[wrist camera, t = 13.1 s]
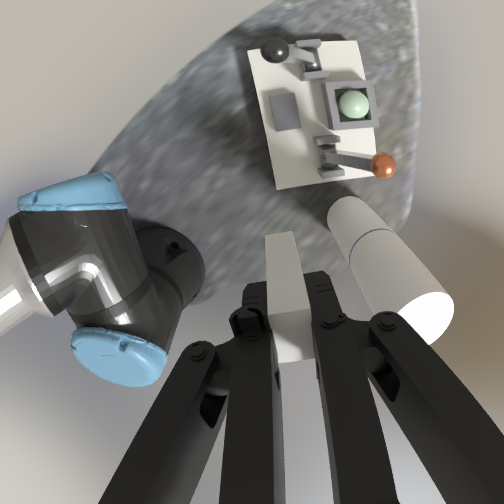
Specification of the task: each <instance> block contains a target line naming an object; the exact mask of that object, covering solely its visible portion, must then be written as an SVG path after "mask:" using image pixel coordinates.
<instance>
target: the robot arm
mask: <svg viewBox="0 0 504 504" xmlns="http://www.w3.org/2000/svg"><path fill="white" fill-rule="evenodd" d="M17 208H18V210H20V212H18V213H17V214H15V215H13V216H11V217H10V218H8V219H7V220H6V222H5V225H4V229H3V232H2V236H1V238H0V336H1V335H3V334H4V333H6V332H7V331H8V330H10V329H11V328H13V327H14V326H16V325H17V324H18V323H20V322H21V321H22V320H24V319H26V318H27V317H28V316H30V315H31V314H33V313H39V314H42V315H45V316H48V317H54V316H56V315H57V314H59V313H60V312H61V311H63V310H65V309H66V310H67V311H68V313H69V315H70V316H71V318H72V320H73V322H74V323H75V325H76V327H77V330H75V331H74V332H73V333H72V339H71V350H72V352H73V354H74V355H75V357H76V358H77V360H78V361H79V362H80V363H81V364H82V365H83V366H84V367H86V368H87V369H88V370H90V371H91V372H92V373H94V374H96V375H97V376H99V377H101V378H103V379H106V380H108V381H110V382H113V383H116V384H119V385H124V386H130V387H142V386H147V385H150V384H152V383H153V382H155V381H156V380H157V379H158V378H159V376H160V374H161V372H162V370H163V368H164V365H165V364H166V363H167V360H168V357H167V356H168V353H169V350H170V346H171V343H172V340H173V337H174V334H175V331H176V328H177V325H178V322H179V319H180V316H181V313H182V310H184V308H186V307H187V306H188V304H189V303H191V302H192V301H193V300H194V299H195V298H196V296H197V295H198V294H199V292H200V290H201V287H202V284H203V281H204V276H205V267H204V262H203V259H202V257H201V254H200V253H199V251H198V249H197V248H196V247H195V245H194V244H193V243H192V242H191V241H190V240H189V239H187V238H186V237H185V236H183V235H182V234H180V233H178V232H176V231H174V230H171V229H167V228H161V227H153V228H147V229H144V230H142V231H140V232H138V233H136V234H135V232H134V229H133V226H132V223H131V220H130V217H129V214H128V211H127V204H126V203H125V202H124V200H123V197H122V195H121V192H120V189H119V187H118V184H117V181H116V179H115V178H114V176H113V175H112V174H110V173H108V172H105V171H99V172H94V173H91V174H87V175H84V176H80V177H77V178H73V179H70V180H67V181H64V182H60V183H57V184H54V185H51V186H48V187H45V188H42V189H39V190H36V191H34V192H31V193H28V194H25V195H23V196H20V197H19V198H18V205H17ZM265 245H266V275H267V281H263V282H256V283H250V284H247V286H246V287H245V289H244V290H243V297H242V299H243V300H242V307H241V308H239V309H237V310H235V312H233V313H232V314H231V316H230V318H229V322H230V325H231V328H232V331H233V333H234V338H233V339H231V340H230V341H228V342H226V343H224V344H220V345H218V346H215V347H214V345H212V344H211V343H210V342H207V341H197V342H195V343H192V344H190V345H189V346H187V347H186V348H185V349H184V351H183V352H182V354H181V356H180V357H179V359H178V361H177V362H176V364H175V366H174V368H173V369H172V371H171V373H170V375H169V377H168V378H167V380H166V382H165V384H164V385H163V387H162V389H161V391H160V392H159V394H158V396H157V398H156V400H155V401H154V403H153V405H152V407H151V409H150V410H149V412H148V414H147V416H146V417H145V419H144V421H143V423H142V425H141V426H140V428H139V430H138V432H137V434H136V435H135V437H134V439H133V441H132V443H131V444H130V446H129V448H128V450H127V452H126V453H125V455H124V457H123V459H122V461H121V463H120V465H119V466H118V468H117V470H116V472H115V474H114V475H113V477H112V479H111V481H110V483H109V485H108V486H107V488H106V490H105V492H104V494H103V496H102V498H101V499H100V501H99V503H98V504H190V501H191V499H192V496H193V494H194V492H195V489H196V487H197V485H198V482H199V480H200V478H201V475H202V473H203V470H204V468H205V465H206V463H207V460H208V458H209V456H210V453H211V450H212V448H213V446H214V443H215V441H216V438H217V436H218V433H219V430H220V428H221V425H222V423H223V420H224V418H225V415H226V412H227V418H226V428H225V439H224V450H223V461H222V474H221V484H220V496H219V504H286V501H285V469H284V443H283V420H282V400H281V382H280V381H281V380H280V371H279V367H278V362H279V363H285V362H293V361H299V360H306V359H312V358H315V360H316V373H317V379H318V383H319V389H320V396H321V402H322V409H323V416H324V422H325V430H326V438H327V445H328V452H329V461H330V469H331V478H332V489H333V499H334V504H400V503H399V501H398V499H397V494H396V489H395V484H394V478H393V474H392V469H391V464H390V460H389V456H388V451H387V447H386V443H385V439H384V435H383V432H382V427H381V423H380V419H379V416H378V412H377V408H376V405H375V401H374V398H373V394H372V391H371V387H370V384H369V381H368V378H369V379H370V381H371V382H372V384H373V385H374V387H375V388H376V390H377V392H378V393H379V395H380V396H381V398H382V399H383V401H384V403H385V404H386V406H387V407H388V409H389V410H390V412H391V413H392V415H393V416H394V418H395V420H396V421H397V423H398V424H399V426H400V428H401V429H402V431H403V432H404V434H405V436H406V437H407V439H408V440H409V442H410V444H411V445H412V447H413V449H414V450H415V452H416V453H417V455H418V456H419V458H420V460H421V462H422V463H423V465H424V466H425V468H426V470H427V471H428V473H429V475H430V476H431V478H432V480H433V482H434V483H435V485H436V487H437V488H438V490H439V492H440V493H441V495H442V497H443V499H444V500H445V502H446V504H504V435H503V434H502V433H501V431H500V430H499V428H498V427H497V426H496V424H495V423H494V422H493V421H492V419H491V418H490V417H489V415H488V414H487V413H486V411H485V410H484V409H483V408H482V406H481V405H480V404H479V403H478V401H477V400H476V399H475V398H474V396H473V395H472V394H471V393H470V392H469V391H468V389H467V388H466V387H465V386H464V384H463V383H462V382H461V381H460V380H459V378H458V377H457V376H456V375H455V374H454V373H453V372H452V370H451V369H450V368H449V367H448V366H447V365H446V364H445V363H444V361H443V360H442V359H441V358H440V357H439V356H438V355H437V353H436V352H435V351H434V350H433V349H432V348H431V347H430V346H429V345H428V343H427V342H426V341H425V340H424V339H423V338H422V337H421V336H420V335H419V334H418V333H417V332H416V331H415V329H414V328H413V327H412V326H411V325H410V324H409V323H408V322H407V321H406V320H405V319H404V318H403V317H402V316H401V315H399V314H398V313H396V312H392V311H383V312H379V313H377V314H375V315H374V316H373V317H372V319H371V320H370V321H357V320H353V319H350V318H348V317H347V316H346V314H345V313H343V312H342V310H341V307H340V304H339V302H338V298H337V296H336V293H335V290H334V287H333V285H332V282H331V279H330V276H329V275H328V274H326V273H325V272H324V271H318V272H312V273H306V274H303V273H302V268H301V264H300V260H299V256H298V252H297V248H296V244H295V240H294V236H293V232H292V231H288V232H282V233H276V234H270V235H265ZM367 376H368V377H367Z"/></svg>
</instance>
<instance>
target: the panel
mask: <svg viewBox="0 0 504 504" xmlns="http://www.w3.org/2000/svg"><path fill="white" fill-rule="evenodd" d="M289 45H292V46H294V47H297V48H300V49H308V48H316V49H317V50H318V54H319V58H320V62H321V67H322V71H315V72H305V73H304V72H303V67H302V66H300V65H296V64H291V63H287V62H282V63H278V64H274V63H269V62H267V61H266V60H265V59H264V58H263V57H262V56H261V53H260V49H254V50H249V51H247V52H248V57H249V61H250V65H251V70H252V74H253V78H254V82H255V87H256V91H257V96H258V100H259V105H260V109H261V114H262V119H263V123H264V128H265V133H266V138H267V142H268V147H269V152H270V157H271V162H272V168H273V173H274V178H275V183H276V188H277V190H280V189H286V188H292V187H298V186H304V185H311V184H317V183H324V182H330V181H337V180H345V179H352V178H360V177H368V176H375V175H374V174H373V173H372V172H369V171H365V170H360V169H356V168H351V167H347V166H342V165H339V166H338V167H336V168H329V169H325V168H321V164H320V157H319V151H318V145H323V144H331V143H336V149H337V150H342V151H350V152H356V153H363V154H369V155H375V154H376V147H375V138H374V129H373V127H379V120H378V113H377V107H376V100H375V94H374V89H373V83H372V80H365V75H364V70H363V66H362V61H361V57H360V52H359V48H358V44H357V41H325V42H321V40H320V39H312V40H300V41H296V42H295V44H289ZM349 91H358V92H361V93H362V94H364V95H365V96H366V98H367V100H368V102H369V110H368V112H367V114H366V115H365V116H363V117H361V118H348V117H344V116H343V115H341V114H340V113H339V112H338V107H337V101H336V100H337V98H338V96H339V95H340V94H342V93H345V92H349Z"/></svg>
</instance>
